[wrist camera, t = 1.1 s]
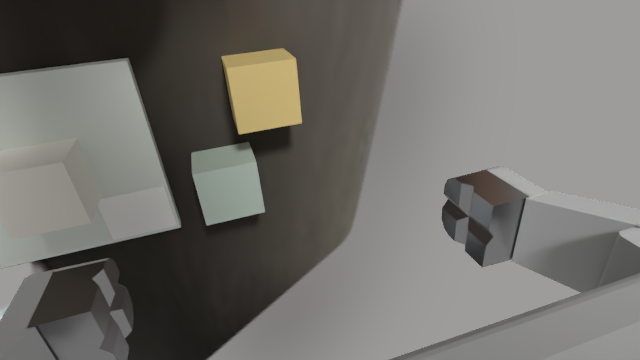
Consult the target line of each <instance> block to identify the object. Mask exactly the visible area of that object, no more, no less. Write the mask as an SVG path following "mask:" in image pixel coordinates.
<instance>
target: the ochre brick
mask: <svg viewBox="0 0 640 360" xmlns="http://www.w3.org/2000/svg"><path fill="white" fill-rule="evenodd" d="M221 58H222V63H223V68H224V73H225V78H226V83H227V89H228V94H229V99H230V104H231V109H232V114H233V118H234V121H235V124H236V127H237V130H238V133H239V134H245V133H250V132H256V131H261V130H267V129H272V128H278V127H284V126H289V125H295V124H300V123H302V117H301V107H300V96H299V86H298V75H297V65H296V58H295V57H293V56H292V55H291V54H290V53H288V52H287V51H286V50H285V49H284V48H282V49H274V50H267V51H259V52H251V53H244V54H236V55H229V56H221Z"/></svg>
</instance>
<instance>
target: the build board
mask: <svg viewBox="0 0 640 360" xmlns="http://www.w3.org/2000/svg"><path fill="white" fill-rule="evenodd" d="M176 228H181V220H180V217H179V214H178V211H177V207H176V204H175V201H174V198H173V195H172V192H171V189H170V186H169V182H168V179H167V176H166V173H165V170H164V167H163V164H162V161H161V158H160V154H159V151H158V148H157V145H156V142H155V139H154V136H153V133H152V129H151V126H150V123H149V120H148V117H147V114H146V111H145V108H144V105H143V101H142V98H141V95H140V92H139V89H138V86H137V83H136V80H135V76H134V73H133V70H132V67H131V64H130V61H129V58H122V59H114V60H106V61H98V62H90V63H82V64H74V65H66V66H58V67H50V68H42V69H34V70H26V71H18V72H10V73H2V74H0V269H2V268H6V267H11V266H15V265H20V264H23V263H28V262H33V261H37V260H41V259H46V258H50V257H54V256H59V255H63V254H67V253H72V252H76V251H81V250H85V249H89V248H94V247H98V246H102V245H107V244H111V243H115V242H120V241H124V240H128V239H133V238H137V237H142V236H146V235H150V234H155V233H159V232H163V231H168V230H172V229H176Z"/></svg>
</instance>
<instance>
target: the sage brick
mask: <svg viewBox="0 0 640 360" xmlns="http://www.w3.org/2000/svg"><path fill="white" fill-rule="evenodd" d="M191 160H192V176H193V179H194V183H195V186H196V190H197V193H198V197H199V201H200V204H201V208H202V211H203V215H204V218H205V222H206V225H207V226H208V225H212V224H216V223H221V222H225V221H229V220H233V219H238V218H242V217H246V216H250V215H255V214H259V213H263V212H265V209H264V203H263V198H262V192H261V186H260V180H259V175H258V169H257V163H256V160H255V157H254V154H253V152H252V149H251V146H250V144H249V142H245V143H240V144H235V145H229V146H224V147H219V148H213V149H208V150H203V151H198V152H192V153H191Z"/></svg>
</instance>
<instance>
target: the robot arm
mask: <svg viewBox="0 0 640 360" xmlns="http://www.w3.org/2000/svg"><path fill="white" fill-rule="evenodd" d="M444 194H445V196H446V197H447V198H448V200H447V202H446V203H445V205H444V206H443V208H442V221H443V225H444V228H445V230H446V232H447V233H448V235H449V236H450V237H451V238H452V239H453V240H454V241H457V242H460V243H462V244H465V251H466V252H467V253H468V254H469V255H470V256H471V257H472V258H473V259H474V260H475V261H476V262H477V263H478V264H479V265H480V266H481V267H485V266H489V265H493V264H497V263H500V262H504V261H508V260H511V259H512V261H513V262H515V263H517V264H519V265H521V266H524V267H526V268H528V269H530V270H532V271H535V272H537V273H539V274H541V275H543V276H546V277H548V278H550V279H553V280H554V281H557V282H559V283H561V284H563V285H565V286H568V287H570V288H572V289H574V290H577V291H579V292H581V293H580V294H577V295H574V296H571V297H569V298H566V299H563V300H560V301H557V302H554V303H551V304H548V305H545V306H543V307H540V308H537V309H534V310H531V311H528V312H525V313H523V314H520V315H517V316H514V317H511V318H508V319H505V320H502V321H500V322H496V323H494V324H491V325H488V326H485V327H482V328H479V329H476V330H473V331H470V332H468V333H465V334H462V335H459V336H456V337H453V338H451V339H448V340H445V341H442V342H439V343H436V344H433V345H430V346H427V347H424V348H421V349H419V350H416V351H413V352H410V353H407V354H404V355H401V356H399V357H396V358H393V359H390V360H640V209H636V208H632V207H627V206H622V205H617V204H612V203H608V202H603V201H598V200H593V199H589V198H583V197H579V196H574V195H570V194H564V193H559V192H555V191H552V192H547V191H545V190H543V189H542V188H540V187H538V186H536V185H535V184H533V183H531V182H529V181H528V180H526V179H524V178H522V177H520V176H519V175H517V174H515V173H514V172H512V171H510V170H508V169H507V168H505V167H501V166H496V167H492V168H489V169H485V170H481V171H479V172H475V173H471V174H467V175H463V176H459V177H455V178H451V179H448V180H447V182H446V184H445V188H444ZM119 274H120V272H119V270H118V268H117V266H116V263H115V261H114V260H112V259H111V258H106V259H101V260H96V261H92V262H87V263H82V264H78V265H73V266H68V267H64V268H59V269H54V270H50V271H46V272H41V273H37V274H33V275H30V276H28V277H27V278H25V279H24V281H23V282H22V284H21V286H20V288H19V290H18V291H17V293H16V295H15V296H14V298H13V300H12V302H11V304H10V305H9V307H8V309H7V311H6V312H5V314H4V316H3V318H2V320H1V321H0V360H127V358H128V352H129V346H128V344H127V342H126V340H125V338H126V337H127V336H128V335H129V333H130V332H131V331H132V327H133V320H134V319H133V305H132V302H131V298H130V295H129V292H128V290H127V288H126V287H124V286H122V285H120V284H119V283H117V282H118V278H119Z"/></svg>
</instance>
